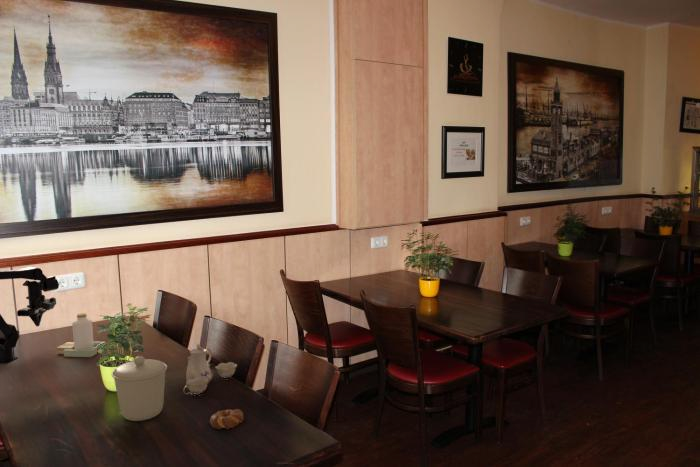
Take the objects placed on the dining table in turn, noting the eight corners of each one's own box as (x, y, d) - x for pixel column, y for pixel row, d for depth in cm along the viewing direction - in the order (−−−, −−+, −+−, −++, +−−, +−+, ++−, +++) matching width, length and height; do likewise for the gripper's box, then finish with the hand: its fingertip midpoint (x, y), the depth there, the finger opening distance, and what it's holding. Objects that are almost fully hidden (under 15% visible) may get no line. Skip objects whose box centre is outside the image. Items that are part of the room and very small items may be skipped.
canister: (115, 408, 204) (111, 352, 201) (168, 400, 210) (165, 345, 207) (113, 430, 187) (109, 369, 184) (171, 421, 193) (167, 361, 190)
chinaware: (202, 405, 209) (203, 362, 207) (164, 395, 215) (165, 353, 212) (241, 378, 235) (243, 339, 233) (207, 369, 241) (209, 332, 238)
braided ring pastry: (231, 412, 200) (231, 402, 199) (251, 421, 193) (251, 411, 192) (202, 424, 191) (202, 413, 190) (222, 434, 184) (222, 423, 183)
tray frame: (91, 357, 259) (90, 350, 259) (64, 356, 260) (63, 350, 260) (106, 347, 272) (105, 341, 272) (80, 347, 273) (79, 341, 273)
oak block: (71, 355, 263) (70, 347, 263) (57, 354, 264) (56, 347, 264) (81, 349, 271) (81, 342, 271) (67, 349, 272) (67, 342, 271)
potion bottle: (74, 350, 268) (71, 313, 266) (94, 348, 272) (91, 311, 270) (74, 355, 261) (71, 317, 259) (94, 353, 264) (91, 315, 262)
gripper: (37, 298, 256) (39, 332, 258) (63, 289, 274) (66, 321, 276) (14, 298, 257) (17, 331, 259) (42, 289, 276) (45, 320, 278)
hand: (37, 326), depth 268 cm, fingers closed
